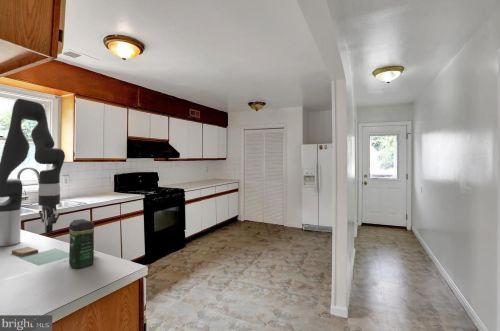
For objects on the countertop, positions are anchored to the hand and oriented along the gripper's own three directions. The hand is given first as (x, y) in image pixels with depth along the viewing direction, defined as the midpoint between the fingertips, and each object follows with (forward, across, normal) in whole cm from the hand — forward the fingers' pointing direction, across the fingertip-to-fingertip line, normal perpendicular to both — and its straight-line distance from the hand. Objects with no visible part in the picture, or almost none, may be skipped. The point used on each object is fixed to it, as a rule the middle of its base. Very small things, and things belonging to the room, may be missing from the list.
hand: (48, 233), depth 115 cm
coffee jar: (+11, +19, +3) cm, 23 cm away
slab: (+10, -10, -3) cm, 15 cm away
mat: (+11, -1, 0) cm, 11 cm away
